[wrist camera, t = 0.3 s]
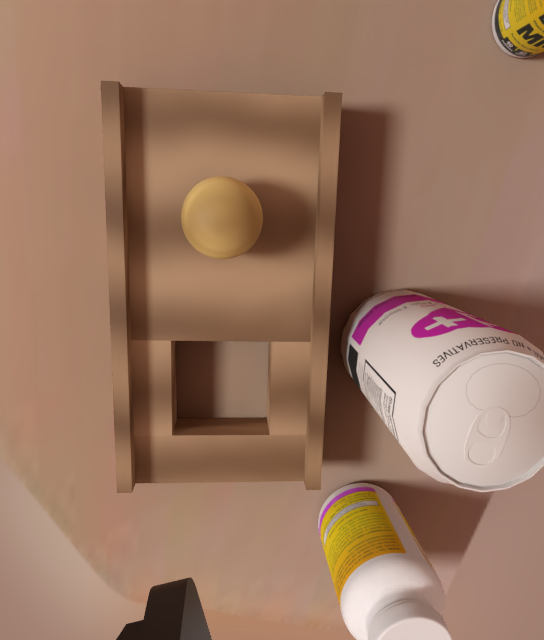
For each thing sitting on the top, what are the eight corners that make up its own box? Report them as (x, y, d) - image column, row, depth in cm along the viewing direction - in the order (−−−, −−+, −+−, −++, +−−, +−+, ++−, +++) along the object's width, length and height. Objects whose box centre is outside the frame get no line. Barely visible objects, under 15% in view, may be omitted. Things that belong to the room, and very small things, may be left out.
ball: (184, 177, 31) (176, 171, 26) (261, 180, 31) (266, 174, 27) (185, 255, 32) (177, 262, 27) (259, 256, 32) (264, 264, 28)
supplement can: (355, 276, 36) (439, 318, 21) (459, 302, 37) (606, 360, 23) (325, 379, 38) (384, 485, 23) (426, 402, 39) (544, 517, 24)
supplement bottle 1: (300, 528, 40) (331, 671, 28) (348, 464, 39) (402, 582, 27) (365, 565, 41) (423, 718, 29) (413, 504, 40) (494, 635, 28)
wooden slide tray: (117, 97, 32) (100, 80, 28) (328, 107, 34) (342, 93, 29) (129, 462, 38) (117, 492, 34) (311, 460, 39) (320, 489, 35)
